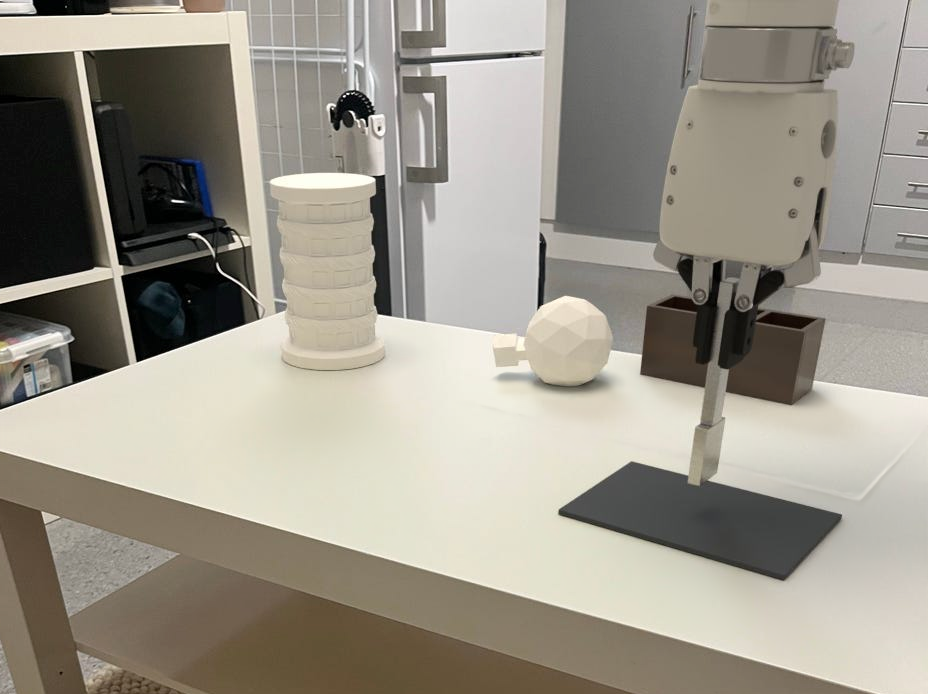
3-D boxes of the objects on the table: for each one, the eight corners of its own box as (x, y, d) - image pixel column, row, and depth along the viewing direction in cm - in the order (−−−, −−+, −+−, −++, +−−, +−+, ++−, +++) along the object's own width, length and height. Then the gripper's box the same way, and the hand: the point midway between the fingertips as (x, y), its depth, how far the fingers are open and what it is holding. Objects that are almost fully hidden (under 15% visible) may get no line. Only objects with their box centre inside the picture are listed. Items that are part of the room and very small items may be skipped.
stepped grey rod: (717, 473, 77) (747, 276, 69) (699, 486, 75) (728, 285, 67) (705, 470, 77) (733, 274, 70) (687, 483, 75) (714, 283, 68)
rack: (664, 366, 110) (672, 294, 106) (811, 394, 102) (826, 318, 98) (639, 379, 106) (646, 305, 102) (790, 410, 98) (804, 331, 94)
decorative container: (406, 350, 115) (401, 178, 105) (339, 377, 107) (327, 192, 97) (329, 334, 121) (318, 169, 111) (260, 358, 113) (242, 182, 103)
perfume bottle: (615, 352, 108) (504, 362, 110) (611, 274, 101) (492, 285, 103) (615, 403, 102) (497, 411, 104) (610, 323, 95) (485, 334, 98)
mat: (841, 519, 77) (842, 514, 77) (783, 580, 69) (785, 575, 69) (630, 465, 86) (631, 460, 86) (558, 514, 78) (558, 509, 78)
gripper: (911, 64, 60) (845, 369, 70) (674, 56, 68) (645, 332, 78) (872, 69, 55) (807, 397, 65) (621, 61, 63) (597, 355, 73)
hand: (719, 360), depth 71 cm, fingers closed on stepped grey rod, 1 cm apart
